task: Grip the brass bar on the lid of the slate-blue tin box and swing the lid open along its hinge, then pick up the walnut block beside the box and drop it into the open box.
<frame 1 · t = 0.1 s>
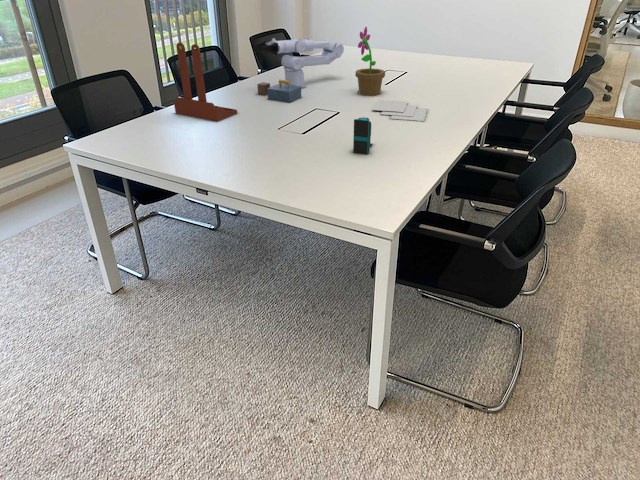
hand: (258, 48, 232), 22 cm above the table, tool horizontal, fingers open, 7 cm apart
tin box: (284, 98, 237), on the table
lid: (284, 84, 234), point 7 cm above the table, hinge at 0.0°
black teal block: (364, 149, 179), on the table
walnut block: (264, 93, 244), on the table
flowerpot: (369, 93, 244), on the table
paper stack: (399, 110, 218), on the table
hanging shelf: (206, 113, 218), on the table
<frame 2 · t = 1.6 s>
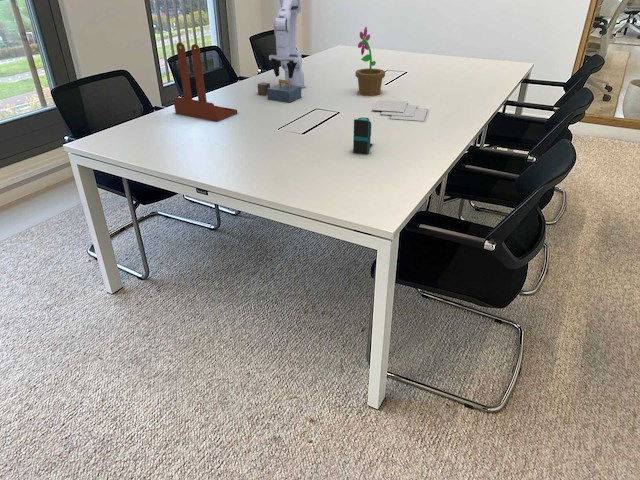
hand: (284, 77, 232), 10 cm above the table, tool pointing down, fingers open, 7 cm apart
nothing on the table moved.
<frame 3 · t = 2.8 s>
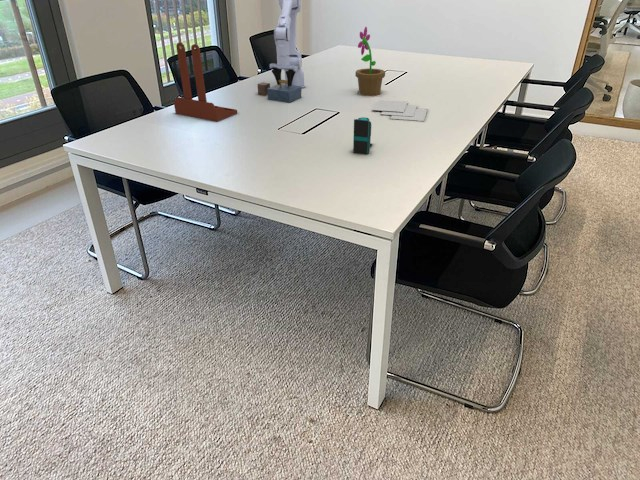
hand: (284, 85, 234), 6 cm above the table, tool pointing down, fingers closed on lid, 5 cm apart
lid: (284, 84, 234), point 7 cm above the table, hinge at 0.0°, touching gripper
everything else where it was.
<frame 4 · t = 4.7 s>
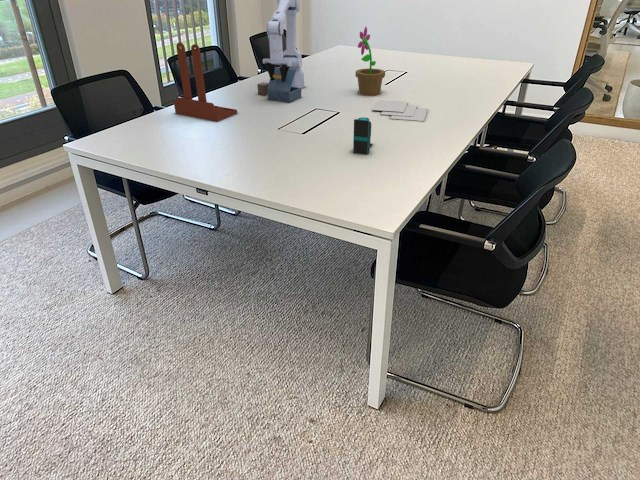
hand: (278, 80, 229), 9 cm above the table, tool pointing down, fingers closed on lid, 5 cm apart
lid: (279, 77, 229), point 10 cm above the table, hinge at 53.3°, touching gripper
everything else where it was.
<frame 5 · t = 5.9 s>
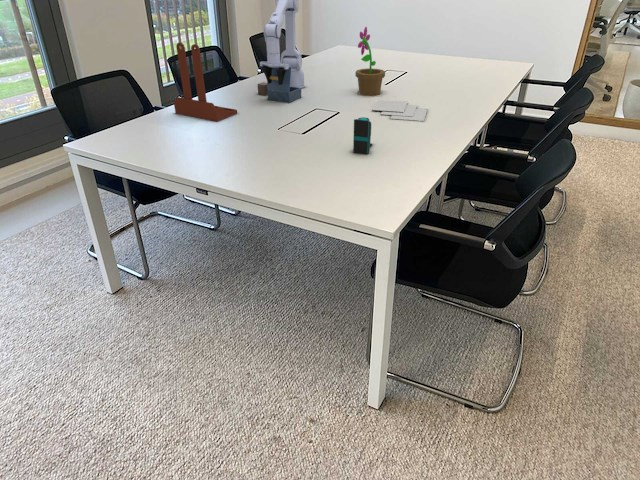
hand: (275, 83, 227), 8 cm above the table, tool pointing down, fingers closed on lid, 5 cm apart
lid: (276, 78, 227), point 11 cm above the table, hinge at 76.9°, touching gripper
everything else where it was.
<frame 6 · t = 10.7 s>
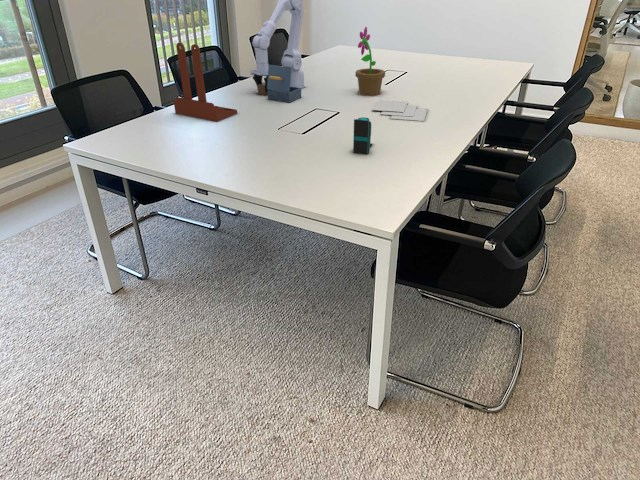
hand: (264, 91, 244), 1 cm above the table, tool pointing down, fingers closed on walnut block, 4 cm apart
lid: (276, 78, 228), point 11 cm above the table, hinge at 76.5°
walnut block: (264, 93, 244), on the table, touching gripper
everything else where it was.
when the fingers open (1 cm above the table, at t = 15.6 s): walnut block stays where it is, resting on tin box.
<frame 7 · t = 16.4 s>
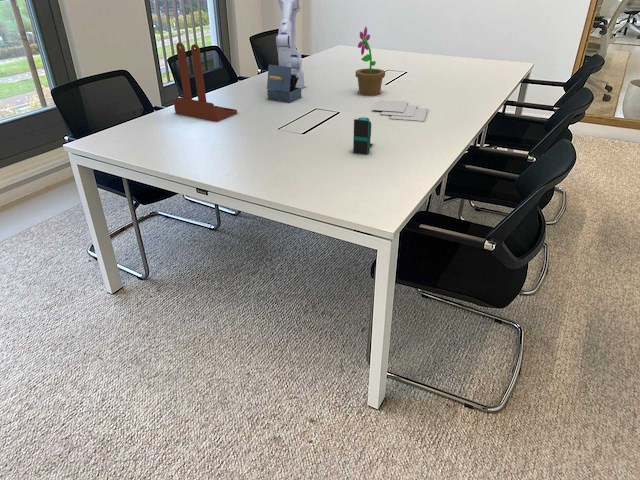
hand: (286, 91, 237), 3 cm above the table, tool pointing down, fingers open, 7 cm apart
walnut block: (286, 96, 238), point 1 cm above the table, touching tin box
everything else where it was.
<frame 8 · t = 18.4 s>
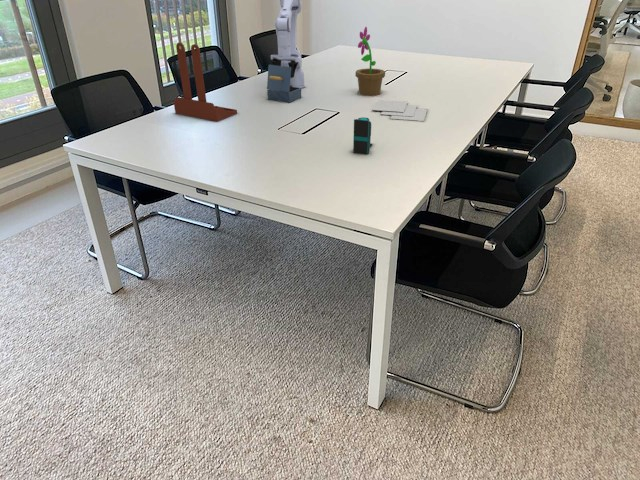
hand: (285, 76, 233), 10 cm above the table, tool pointing down, fingers open, 7 cm apart
nothing on the table moved.
at the end: lid at +76° (first picture: +0°); walnut block 1.5 cm off-centre in the tin box, point 0.7 cm above the tin box's base; the gripper is holding nothing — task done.
